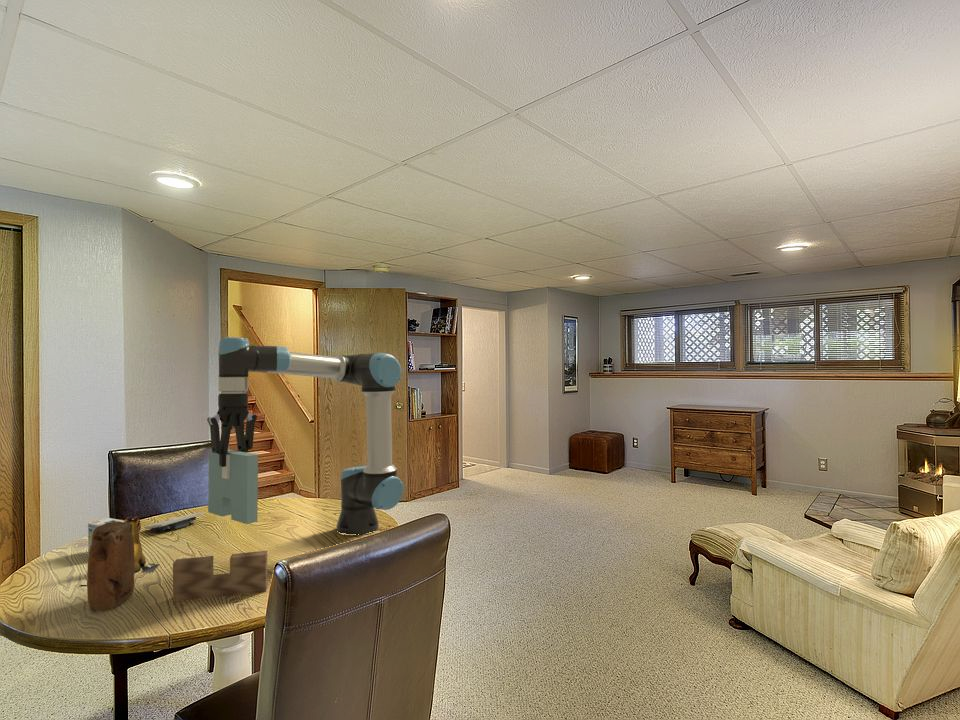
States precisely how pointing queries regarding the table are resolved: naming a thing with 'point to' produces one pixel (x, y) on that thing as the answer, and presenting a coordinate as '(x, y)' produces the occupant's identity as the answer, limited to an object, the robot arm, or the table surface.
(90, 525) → the light bulb box
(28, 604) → the table surface
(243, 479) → the teal slotted plate
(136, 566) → the stuffed giraffe
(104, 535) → the block
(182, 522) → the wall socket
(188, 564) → the walnut slotted board
